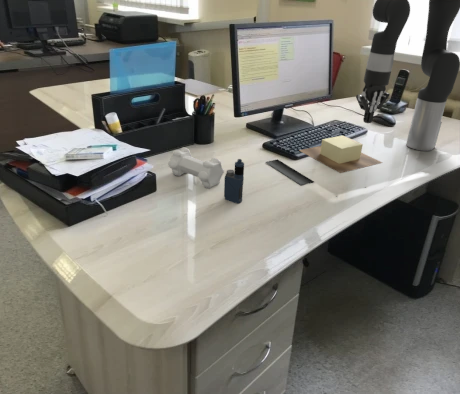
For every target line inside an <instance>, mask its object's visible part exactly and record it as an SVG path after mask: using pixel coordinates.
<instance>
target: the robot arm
mask: <svg viewBox="0 0 460 394" xmlns="http://www.w3.org/2000/svg"><path fill="white" fill-rule="evenodd" d="M428 1H429V2H428V14H427V24H426V33H425V40H424V45H423V50H422V53H421V54H422V56H421V60H420V61H421V63H420V69H421V70H422V73H423V74H424V75H425V76H428V77H429V80H428V82H427V84H426V86H425V87H422V88H420V89H419V90H418V94H417V97H416V101H415V106H414V110H413V114H412V118H411V123H410V126H409V131H408V133H407V139H406V143H405V144H406V146H407V147H408V148H411V149H413V150H417V151H422V152H423V151H424V152H427V151H428V152H429V151H433V149H434V148H435V147H436V143H437V140H438V137H439V133H440V131H441V127H442V126H441V125H442V123H443V122H442V118H443V115H444V110H445V107H446V104H447V100H448V97H449V96H450V95H451V93H452V91H453V90H454V86H455V83H456V79H457V77H458V74H459V70H460V57H459V55H458V54H457V53H455V52H453V51H450V50H447V46H448V45H447V44H448V36H449V32H450V29H451V26H452V24H453V22H454V21H455V18H456V17H457V16H458V14H459V11H460V0H428ZM410 14H411V4H410V2H409V0H376V1H375V3H374V5H373V7H372V17H373V18H374V20H375V21H377V22H379V23H384V24H387V25H386V26H385V28H384V30H382V31H381V30H380V31H377V32H375V33H374V34H373V36H372V37H373V38H372V42H371V46H370V52H369V55H368V57H367V63H366V67H365V73H364V77H363V83H364V87H363V89H362V92H361V93H360V94H356V96H355V98H356V100H357V103H358V105H359V108H360V110H362V111H364V116H363V123H366V124H371V123H373V121H374V115H375V113H376V112H377V110H380V109H381V108H382V107H383V105H384V104H385V103H386V101H387V100H388V99H389V97H390V95H391V94H390V93H389V92H387V91H386V89H387V88H386V87H387V86H388V85H389V83H390V78H391V73H392V70H393V66H394V61H395V60H394V58H395V53H396V47H397V43H398V40H399V38H400V35H401V34H402V32H403V29H405V25H406V24H407V21H408V20H409V17H410Z"/></svg>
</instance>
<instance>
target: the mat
mask: <svg viewBox="0 0 460 394" xmlns="http://www.w3.org/2000/svg"><path fill="white" fill-rule="evenodd" d="M265 164H267V165H268V166H270V167H272V168H273V169H275V170H276V171H278V172H279V173H281V174H282V175H283V176H285V177H287V178H288V179H290V180H292V181H293V182H295V183H297V184H298V185H300V186H304V185H308V184H312V183H315V181H314V180H312V179H311V178H309V177H307V176H306V175H304V174H303V173H301V172H299V171H297V169H294V168H293V167H291V166H290V165H287V164H286V163H285V162H283V161H281V160H280V159H273V160H269V161H265Z"/></svg>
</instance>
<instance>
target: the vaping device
mask: <svg viewBox="0 0 460 394" xmlns="http://www.w3.org/2000/svg"><path fill="white" fill-rule="evenodd" d="M244 171H245V162H244V161H243V160H242V159H241V158H238V159H237V161H235V162H234V170H233V169H227V170H226V173H225V176H224V182H223V183H224V185H223V187H224V188H223V190H224V192H223V197H224V200H225V201H227V202H230V203H233V204H241V203H242V201H243V193H244V192H243V189H244V188H243V187H244V174H245V173H244Z"/></svg>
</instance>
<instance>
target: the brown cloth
mask: <svg viewBox="0 0 460 394" xmlns="http://www.w3.org/2000/svg"><path fill="white" fill-rule="evenodd" d="M298 151H299V152H301V153H303V154H304V155H306V156H309V157H310V158H312V159H314V160H316V161H317V162H320V163H321V164H323V165H325V166H326V167H328V168H330V169H332V170H334V171H336V172H337V173H339V174H344V173H347V172H350V171H354V170H359V169H363V168H367V167H368V168H369V167H372V166H375V165H376V166H377V165H379V164H383V162H382V161H380V160H378V159H377V158H374V157H372V156H369V155H368V154H365V153H363V152H361V156H360V159H357V160H353V161H349V162H344V163H340V164H339V163H337V162H335V161H333V160H331V159H329V158H327V157H325V156H323V155H321V154H320V151H321V145H319V146H314V147H307V148H304V149H299V150H298Z"/></svg>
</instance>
